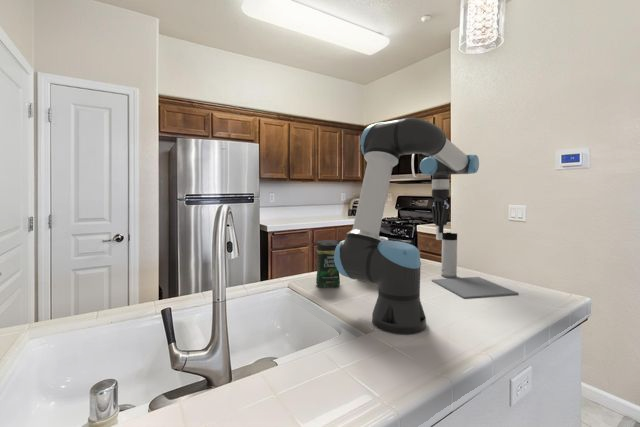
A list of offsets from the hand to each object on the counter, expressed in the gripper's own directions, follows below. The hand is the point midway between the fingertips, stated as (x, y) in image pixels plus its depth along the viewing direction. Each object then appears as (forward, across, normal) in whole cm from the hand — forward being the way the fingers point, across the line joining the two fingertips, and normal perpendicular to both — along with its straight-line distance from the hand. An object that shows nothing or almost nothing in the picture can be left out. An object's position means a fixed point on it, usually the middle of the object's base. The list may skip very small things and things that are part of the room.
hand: (439, 239), depth 146 cm
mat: (+15, -24, 0) cm, 28 cm away
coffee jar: (+16, -10, +55) cm, 58 cm away
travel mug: (+16, -8, 0) cm, 17 cm away
